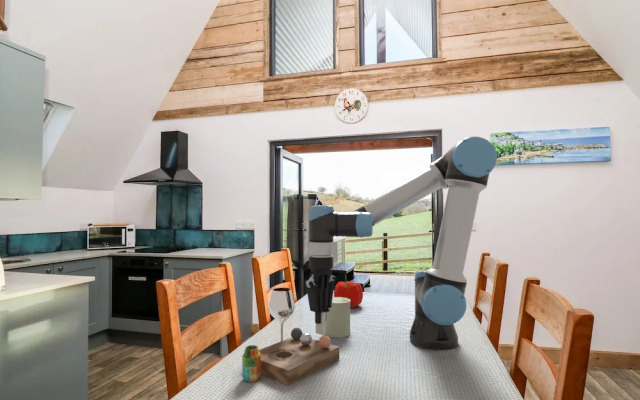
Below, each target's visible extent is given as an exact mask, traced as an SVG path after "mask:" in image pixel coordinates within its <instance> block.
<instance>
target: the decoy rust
mask: <svg viewBox="0 0 640 400" xmlns="http://www.w3.org/2000/svg"><path fill="white" fill-rule="evenodd" d="M318 341H319V345H320V346H321V347H322V348H328V347H329V346H330V345H331V344H332V338H330V336H327V335H325V334H324V335H321V336H320V337H319V339H318Z"/></svg>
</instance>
